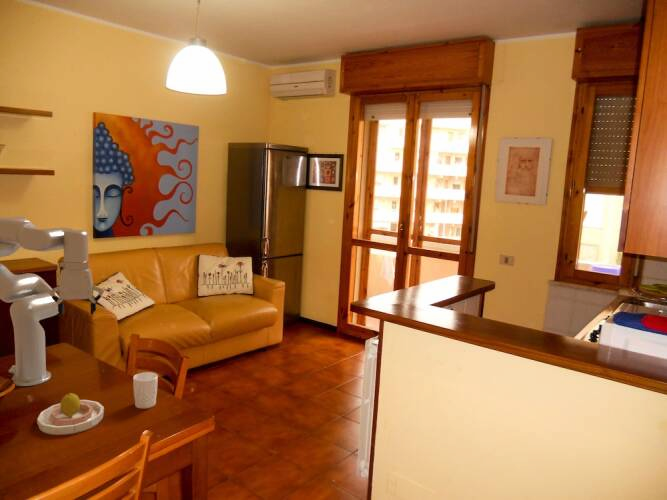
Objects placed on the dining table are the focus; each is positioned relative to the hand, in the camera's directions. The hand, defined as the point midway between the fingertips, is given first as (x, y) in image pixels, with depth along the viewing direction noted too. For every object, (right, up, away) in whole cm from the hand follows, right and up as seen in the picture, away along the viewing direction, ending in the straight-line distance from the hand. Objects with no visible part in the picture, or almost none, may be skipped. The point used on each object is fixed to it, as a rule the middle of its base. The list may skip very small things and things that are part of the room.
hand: (77, 313), depth 173 cm
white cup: (+25, -31, -4) cm, 40 cm away
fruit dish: (+7, -32, -17) cm, 36 cm away
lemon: (+7, -31, -17) cm, 36 cm away
